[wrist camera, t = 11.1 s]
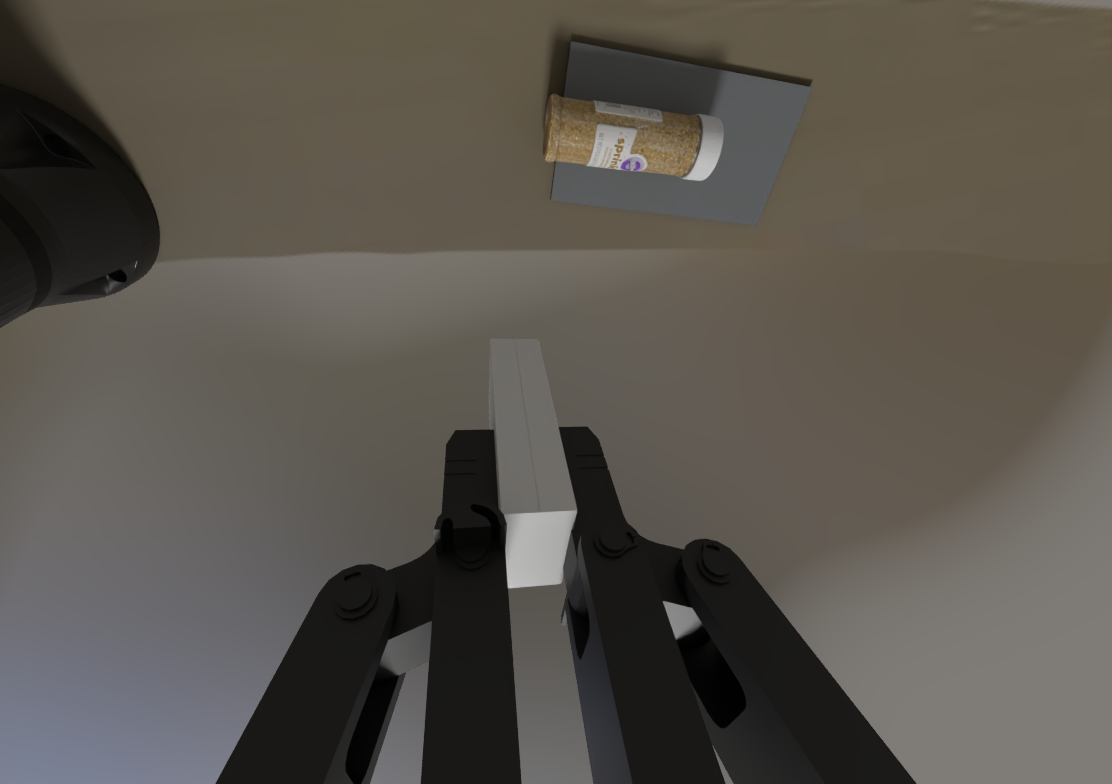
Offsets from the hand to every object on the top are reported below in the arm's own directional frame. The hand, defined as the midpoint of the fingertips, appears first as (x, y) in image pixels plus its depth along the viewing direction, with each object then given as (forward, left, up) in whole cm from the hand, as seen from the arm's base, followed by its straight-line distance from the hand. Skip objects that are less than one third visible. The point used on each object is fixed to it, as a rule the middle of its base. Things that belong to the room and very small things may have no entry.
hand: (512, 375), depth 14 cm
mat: (+15, +5, -29) cm, 33 cm away
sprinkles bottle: (+3, +5, -27) cm, 27 cm away
